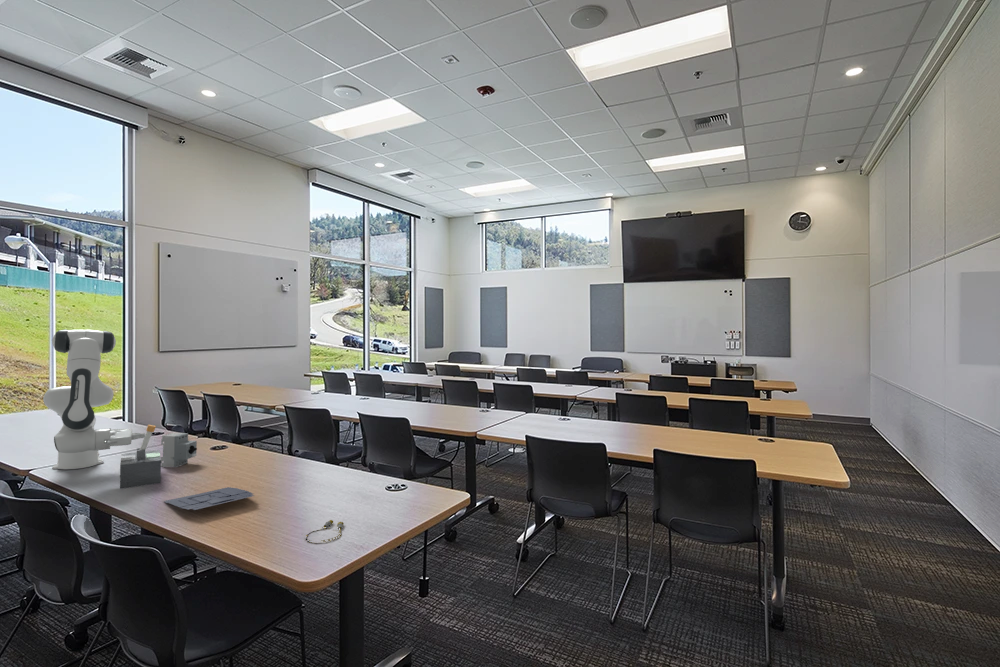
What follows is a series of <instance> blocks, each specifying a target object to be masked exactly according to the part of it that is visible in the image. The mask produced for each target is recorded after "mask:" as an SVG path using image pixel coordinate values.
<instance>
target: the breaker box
mask: <svg viewBox="0 0 1000 667" xmlns="http://www.w3.org/2000/svg"><path fill="white" fill-rule="evenodd" d="M160 452H161V451H160V450H159V449H157V450H147V451H146V450H145V449H143V450H140V447H137V448H136V452H128V453H121V456H120V464H119V465H120V466H119V489H120V490H121V489H127V488H135V487H142V486H151V485H158V484H161V479H162V476H161V475H162V467H161V453H160Z"/></svg>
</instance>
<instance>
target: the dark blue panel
mask: <svg viewBox="0 0 1000 667" xmlns="http://www.w3.org/2000/svg"><path fill="white" fill-rule="evenodd" d="M251 497H255V494H254V493H253V492H251V491H249V490H245V489H242V488H237V487H231V486H230V487H229V486H227V487H224V488H217V489H214V490H210V491H205V492H202V493H195V494H192V495H187V496H181V497H177V498H172V499H166V500H163V502H164V503H166V504H170V505H173V506H175V507H178V508H179V509H185V510H193V511H196V510H201V509H204V508H209V507H214V506H218V505H221V504H225V503H231V502H235V501H238V500H243V499H247V498H251Z"/></svg>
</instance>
